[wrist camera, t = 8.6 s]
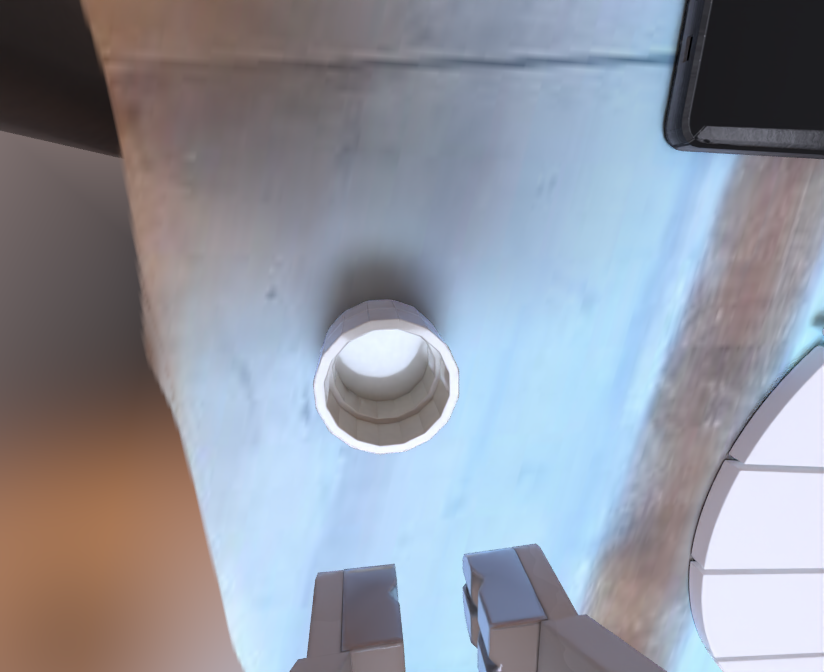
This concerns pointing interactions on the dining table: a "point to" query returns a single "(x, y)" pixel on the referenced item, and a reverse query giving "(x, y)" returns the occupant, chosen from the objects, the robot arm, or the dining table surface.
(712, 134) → the phone
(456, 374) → the white plastic cup
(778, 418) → the lazy susan
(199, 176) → the dining table surface
